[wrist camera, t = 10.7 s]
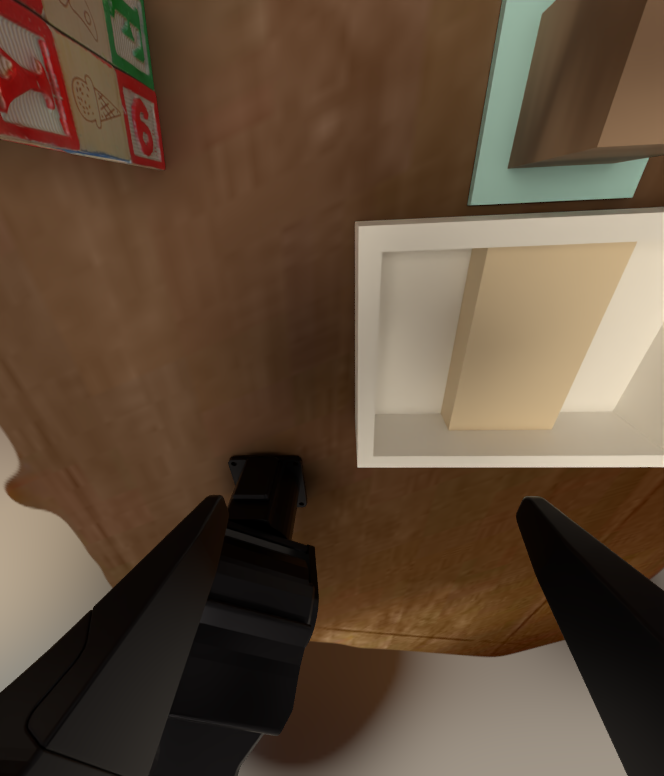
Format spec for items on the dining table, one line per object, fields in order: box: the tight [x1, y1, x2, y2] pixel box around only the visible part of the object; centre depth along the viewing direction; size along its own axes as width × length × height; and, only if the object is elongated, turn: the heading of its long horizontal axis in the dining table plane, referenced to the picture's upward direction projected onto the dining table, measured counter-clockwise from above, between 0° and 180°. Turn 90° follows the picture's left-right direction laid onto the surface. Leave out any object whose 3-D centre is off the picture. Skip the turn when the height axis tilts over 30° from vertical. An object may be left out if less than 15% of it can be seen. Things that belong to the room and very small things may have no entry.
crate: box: [355, 207, 664, 468], centre depth 17 cm, size 14×20×5 cm
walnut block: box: [507, 0, 664, 169], centre depth 10 cm, size 5×5×6 cm
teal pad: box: [467, 0, 649, 205], centre depth 13 cm, size 8×8×1 cm
